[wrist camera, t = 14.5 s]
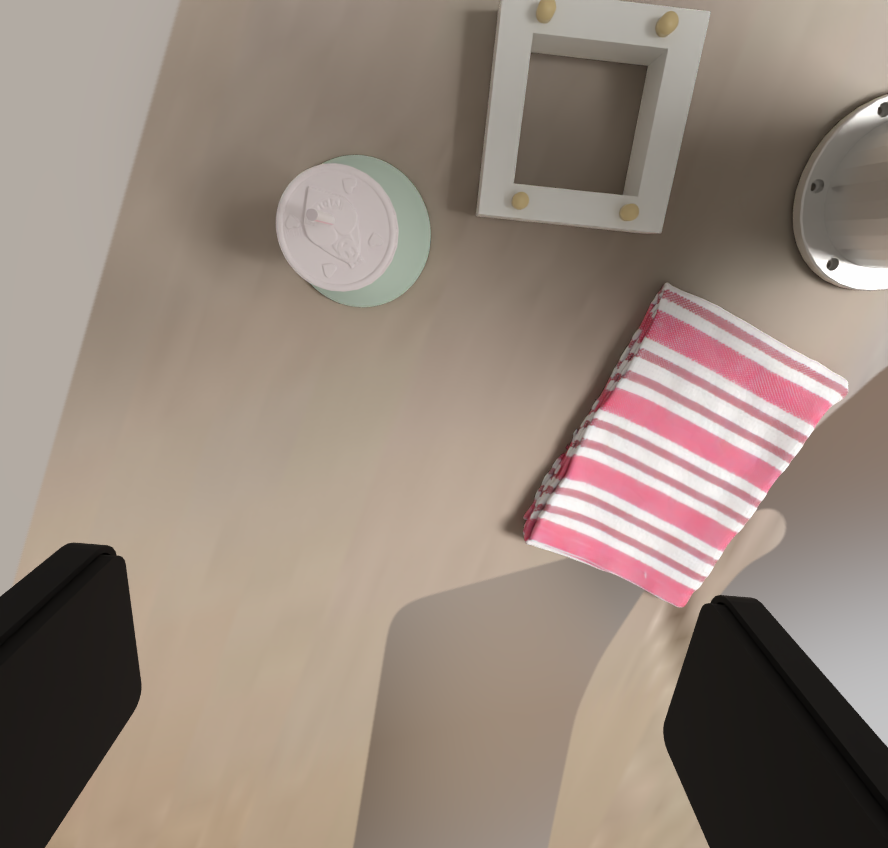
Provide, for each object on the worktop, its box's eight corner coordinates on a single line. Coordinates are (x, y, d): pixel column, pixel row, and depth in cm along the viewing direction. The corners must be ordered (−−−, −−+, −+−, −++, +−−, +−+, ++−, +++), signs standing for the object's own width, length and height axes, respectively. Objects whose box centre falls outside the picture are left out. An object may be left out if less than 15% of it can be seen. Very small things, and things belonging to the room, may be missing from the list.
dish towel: (512, 525, 45) (517, 548, 42) (659, 276, 38) (679, 280, 35) (674, 594, 48) (692, 620, 44) (841, 372, 41) (876, 384, 37)
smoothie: (373, 164, 35) (338, 113, 21) (423, 251, 36) (418, 253, 23) (295, 216, 36) (215, 198, 22) (347, 298, 37) (301, 326, 24)
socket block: (686, 32, 33) (718, 5, 29) (643, 233, 37) (666, 232, 33) (498, 10, 32) (505, -21, 28) (475, 216, 36) (479, 213, 32)
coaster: (437, 164, 35) (436, 163, 35) (424, 312, 38) (424, 313, 38) (289, 148, 35) (287, 146, 34) (290, 299, 38) (287, 300, 38)
